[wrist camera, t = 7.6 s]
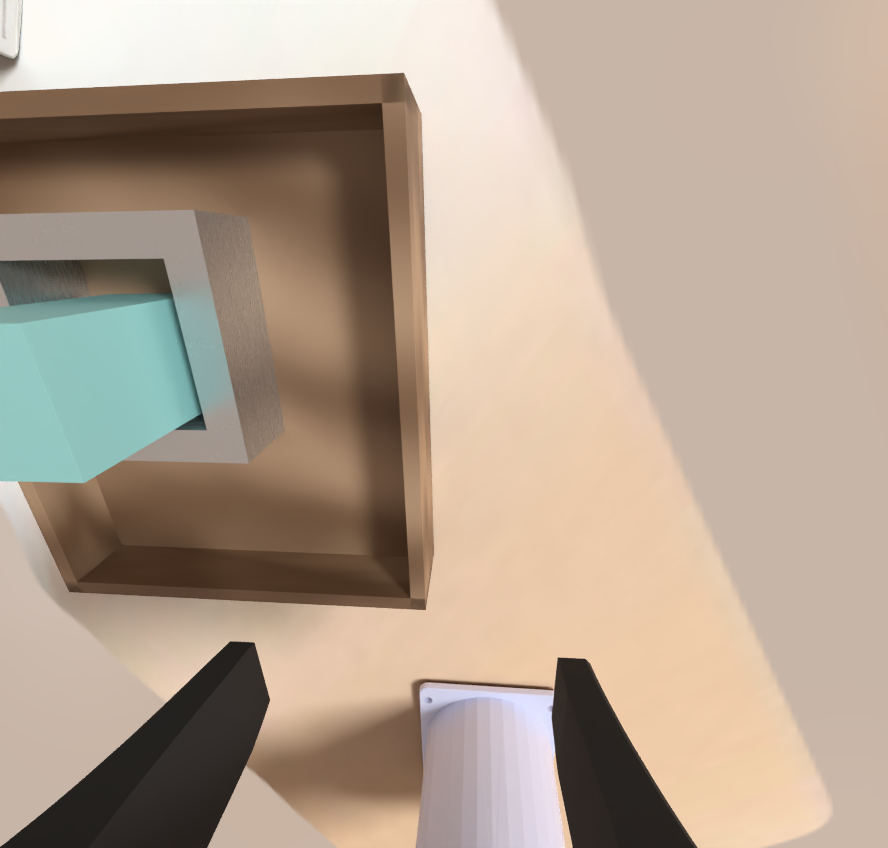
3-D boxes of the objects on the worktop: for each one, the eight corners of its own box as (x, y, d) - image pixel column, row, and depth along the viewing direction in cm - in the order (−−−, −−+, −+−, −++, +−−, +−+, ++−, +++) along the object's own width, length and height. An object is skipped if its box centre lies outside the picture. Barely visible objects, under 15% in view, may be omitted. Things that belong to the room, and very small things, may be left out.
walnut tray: (433, 553, 21) (425, 610, 17) (129, 541, 22) (69, 591, 19) (421, 114, 14) (403, 73, 11) (-23, 131, 15) (-161, 99, 12)
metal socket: (285, 429, 18) (249, 463, 15) (106, 426, 18) (39, 458, 15) (248, 217, 14) (193, 209, 12) (33, 221, 15) (-66, 215, 12)
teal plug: (232, 394, 17) (84, 482, 11) (140, 394, 17) (-59, 479, 11) (209, 292, 16) (20, 323, 9) (109, 294, 16) (-144, 324, 9)
